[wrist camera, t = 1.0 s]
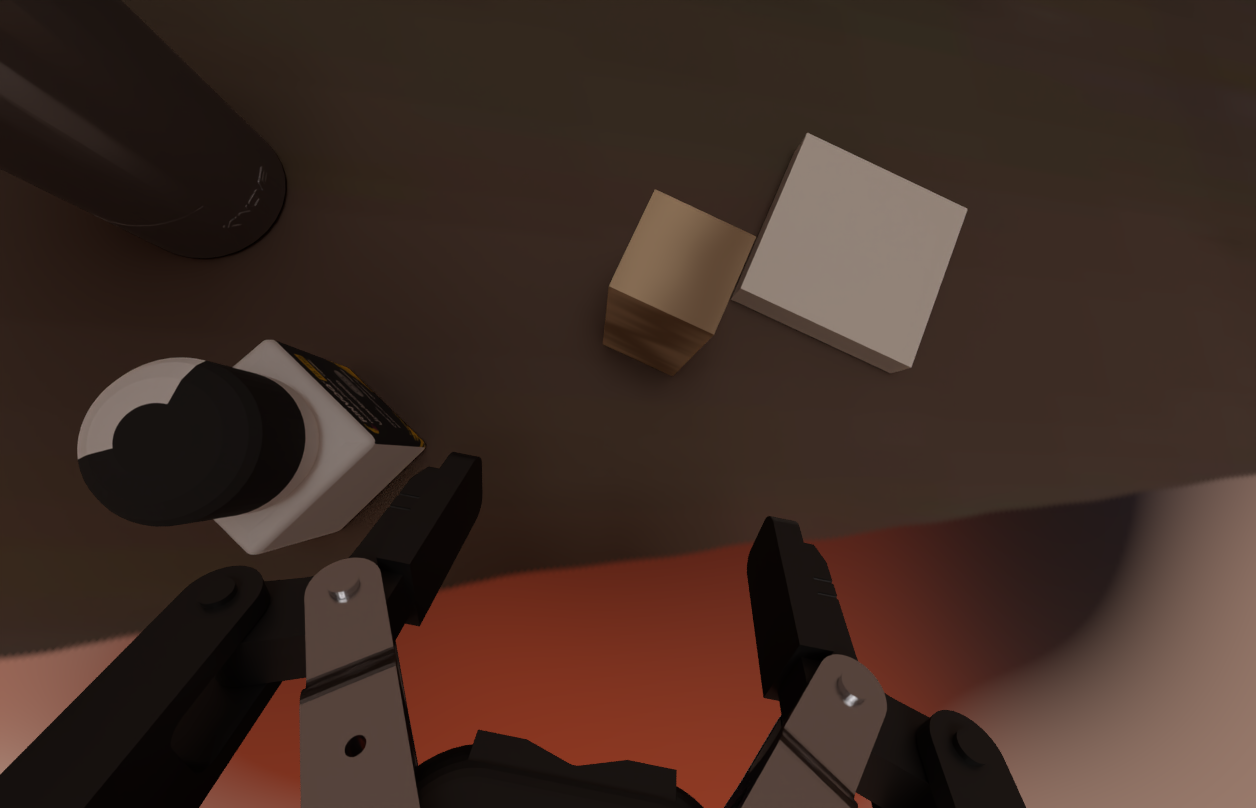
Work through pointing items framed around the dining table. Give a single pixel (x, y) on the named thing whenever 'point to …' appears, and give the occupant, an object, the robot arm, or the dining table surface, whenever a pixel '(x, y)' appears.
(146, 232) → the robot arm
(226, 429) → the medicine bottle
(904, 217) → the cream tile
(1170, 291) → the dining table surface
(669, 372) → the oak block
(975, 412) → the dining table surface
